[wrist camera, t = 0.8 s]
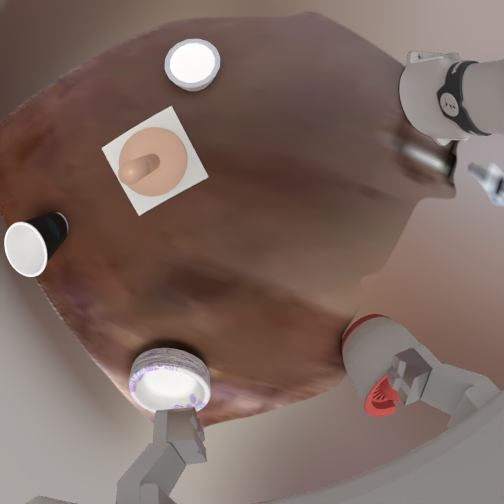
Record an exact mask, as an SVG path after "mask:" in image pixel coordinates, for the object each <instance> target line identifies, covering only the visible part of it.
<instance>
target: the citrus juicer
mask: <svg viewBox="0 0 504 504" xmlns="http://www.w3.org/2000/svg"><path fill="white" fill-rule="evenodd" d="M417 345H419V342H418V341H417V340H416V339H415V338H414V337H413V336H412V335H411V333H410V332H409V331H408V330H407V329H406V328H404V327H403V326H402V325H400V324H399V323H397V322H395V321H393V320H392V319H390V318H389V317H386V316H383V315H378V314H373V315H368V316H366V317H363V318H361V319H360V320H358V321H356V322H355V323H354V324H353V325H352V326H351V327H350V328H349V329H348V330H347V332H346V333H345V335H344V337H343V340H342V356H343V361H344V365H345V369H346V372H347V374H348V376H349V379H350V381H351V382H352V384H353V386H354V388H355V390H356V392H357V393H358V395H359V397H360V399H361V401H362V403H363V404H364V409H365V411H366V412H367V413H368V414H369V415H371V416H375V417H378V416H386V415H389V414H392V413H394V412H395V404H394V403H393V402H394V401H401V400H400V399H399V397H398V391H396V390H394V389H392V388H391V386H390V384H389V382H388V378H387V373H388V369H389V368H390V367H391V363H390V359H391V357H392V356H393V355H395V354H398V353H400V352H402V351H405V350H407V349H409V348H412V347H415V346H417ZM401 402H402V401H401Z"/></svg>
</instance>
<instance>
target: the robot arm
mask: <svg viewBox="0 0 504 504" xmlns="http://www.w3.org/2000/svg"><path fill="white" fill-rule="evenodd" d="M418 57H419V58H418ZM399 93H400V100H401V104H402V107H403V110H404V112H405V114H406V116H407V118H408V120H409V121H410V123H411V124H412V125H413V126H414V127H415V128H416V129H417V130H418V131H420V132H421V133H423V134H425V135H427V136H430V137H431V138H432V139H433V140H434V141H435V142H436V143H437V144H438V145H439V146H445V145H446V144H448V143H449V142H450V141H451V140H464V141H466V140H468V138H469V137H471V136H472V135H473V134H474V135H478V136H484V135H485V136H488V135H491V134H495V135H502V136H504V60H498V61H491V62H483V63H479V62H476V61H462V59H461V58H460V57H459V55H458V53H448V54H439V53H430V52H419V51H411V52H409V53H408V55H407V65H406V68H405V70H404V72H403V73H402V76H401V79H400V85H399ZM390 363H391V367H390V368H389V369H388V373H387V378H388V382H389V384H390V386H391V388H392V389H394V390H396V391H398V397H399V399H400V400H401V401H402V403H403V404H404V406H406V405H408V404H410V403H412V402H415V401H417V400H419V399H421V400H422V401H424V402H426V403H428V404H430V405H432V406H434V407H436V408H438V409H440V410H442V411H444V412H446V413H448V414H450V415H452V417H451V419H450V420H449V422H448V425H447V427H448V428H449V430H447V431H445V432H444V433H442V434H441V435H439V436H437V437H435V438H434V439H432V440H430V441H428V442H426V443H425V444H423V445H421V446H419V447H417V448H415V449H414V450H412V451H410V452H408V453H406V454H404V455H402V456H400V457H398V458H395V459H393V460H391V461H389V462H387V463H385V464H382V465H380V466H378V467H375V468H373V469H371V470H368V471H366V472H363V473H361V474H358V475H356V476H353V477H351V478H348V479H345V480H342V481H339V482H336V483H333V484H330V485H327V486H324V487H321V488H317V489H314V490H310V491H307V492H303V493H300V494H296V495H292V496H288V497H283V498H279V499H274V500H269V501H265V502H259V503H253V504H504V390H503V391H502V392H501V391H500V390H499V389H498V388H497V387H496V386H495V385H494V384H493V383H492V382H491V381H490V380H489V379H488V378H487V377H486V376H484V375H480V374H477V373H474V372H470V371H467V370H464V369H460V368H457V367H454V366H450V365H447V364H443V365H442V364H441V363H440V362H439V361H438V360H437V359H436V358H435V357H434V356H433V355H432V353H431V352H430V351H429V350H428V349H427V348H426V347H424V345H422V344H419V345H417V346H415V347H412V348H409V349H407V350H405V351H402V352H400V353H398V354H395V355H393V356H392V357H391V359H390ZM153 434H154V435H153V443H152V444H149V445H148V446H147V447H146V449H145V450H144V451H143V452H142V453H141V455H140V456H139V457H138V459H137V460H136V461H135V462H134V463H133V464H132V465H131V467H130V468H129V469H128V470H127V471H126V473H125V474H124V475H123V476H122V478H121V479H120V480H119V481H118V484H117V495H116V504H176V503H175V502H174V501H173V500H172V499H171V498H170V497H169V495H170V492H171V491H172V489H173V488H174V486H175V484H176V483H177V481H178V479H179V477H180V476H181V474H182V472H183V470H184V469H185V467H186V465H187V464H195V463H203V462H207V460H206V449H205V447H204V445H203V441H204V440H205V437H204V431H203V426H202V423H201V420H200V419H199V418H198V417H197V411H196V409H195V407H189V408H178V409H167V410H156V412H155V419H154V433H153ZM26 504H76V503H71V502H66V501H60V500H57V499H52V498H48V497H43V496H37V497H34V498H33V499H31V500H30V501H29V502H27V503H26Z"/></svg>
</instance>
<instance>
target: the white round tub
mask: <svg viewBox="0 0 504 504" xmlns="http://www.w3.org/2000/svg"><path fill="white" fill-rule="evenodd" d="M219 68H220V56H219V53H218V51H217V49H216V48H215V47H214V46H213V45H212V44H211V43H209V42H207V41H204V40H201V39H187V40H185V41H182V42H180V43H177V44H176V45H175V46H174V47H173V48H172V49H171V50H170V51H169V53H168V55H167V57H166V59H165V71H166V73H167V76H168V78H169V79H170V80H171V81H173V82H174V83H175V84H176V85H178V86H179V87H181V88H182V89H185V90H188V91H199V90H202V89H204V88H206V87H207V86H208V85H209V84H210V83H211V82H212V80H213V79H214V77H215V76H216V74H217V72H218V70H219Z"/></svg>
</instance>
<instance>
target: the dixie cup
mask: <svg viewBox="0 0 504 504" xmlns="http://www.w3.org/2000/svg"><path fill="white" fill-rule="evenodd" d="M67 233H68V222H67V220H66V218H65V217H64V216H63V215H62V214H61V213H58V212H49V213H46V214H43V215H41V216H38V217H35V218H32V219H30V220H27V221H24V222H17V223H14V224H13V225H11V226H10V228H9V229H8V231H7V233H6V235H5V252H6V255H7V258H8V260H9V262H10V263H11V265H12V266H13V267H14V269H15V270H17V271H18V272H19V273H20V274H22V275H24V276H28V277H34V276H37V275H39V274H40V273H42V271H43V270H44V268H45V266H46V263H47V262H48V260H49V259H50V258H51V256H52V255H53V254H54V252H55V251H56V250H57V248H58V247H59V246H60V245H61V243H62V242H63V241H64V240H65V238H66V236H67Z"/></svg>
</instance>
